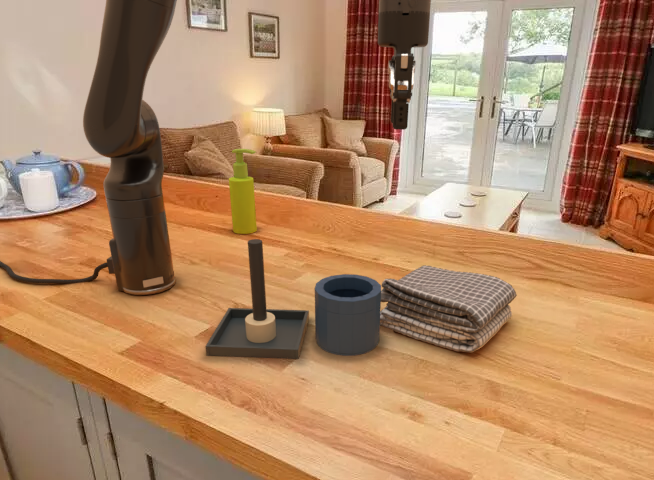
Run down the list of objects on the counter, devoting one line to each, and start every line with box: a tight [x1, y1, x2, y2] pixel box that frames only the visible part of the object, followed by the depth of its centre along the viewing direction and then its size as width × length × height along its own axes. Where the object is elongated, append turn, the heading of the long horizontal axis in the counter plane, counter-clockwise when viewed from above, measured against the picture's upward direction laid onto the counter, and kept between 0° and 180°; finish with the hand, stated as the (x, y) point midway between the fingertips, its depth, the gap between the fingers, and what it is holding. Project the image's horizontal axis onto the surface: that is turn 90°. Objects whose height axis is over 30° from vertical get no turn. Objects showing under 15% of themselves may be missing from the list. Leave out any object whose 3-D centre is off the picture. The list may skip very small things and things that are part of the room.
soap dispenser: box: [228, 148, 258, 235], centre depth 119 cm, size 6×7×20 cm
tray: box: [205, 307, 310, 360], centre depth 74 cm, size 13×12×2 cm
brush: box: [245, 238, 276, 343], centre depth 71 cm, size 4×4×15 cm
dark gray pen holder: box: [314, 273, 382, 357], centre depth 72 cm, size 9×9×9 cm
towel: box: [380, 265, 517, 353], centre depth 78 cm, size 15×18×8 cm
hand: (398, 126), depth 78 cm, fingers open, 8 cm apart
